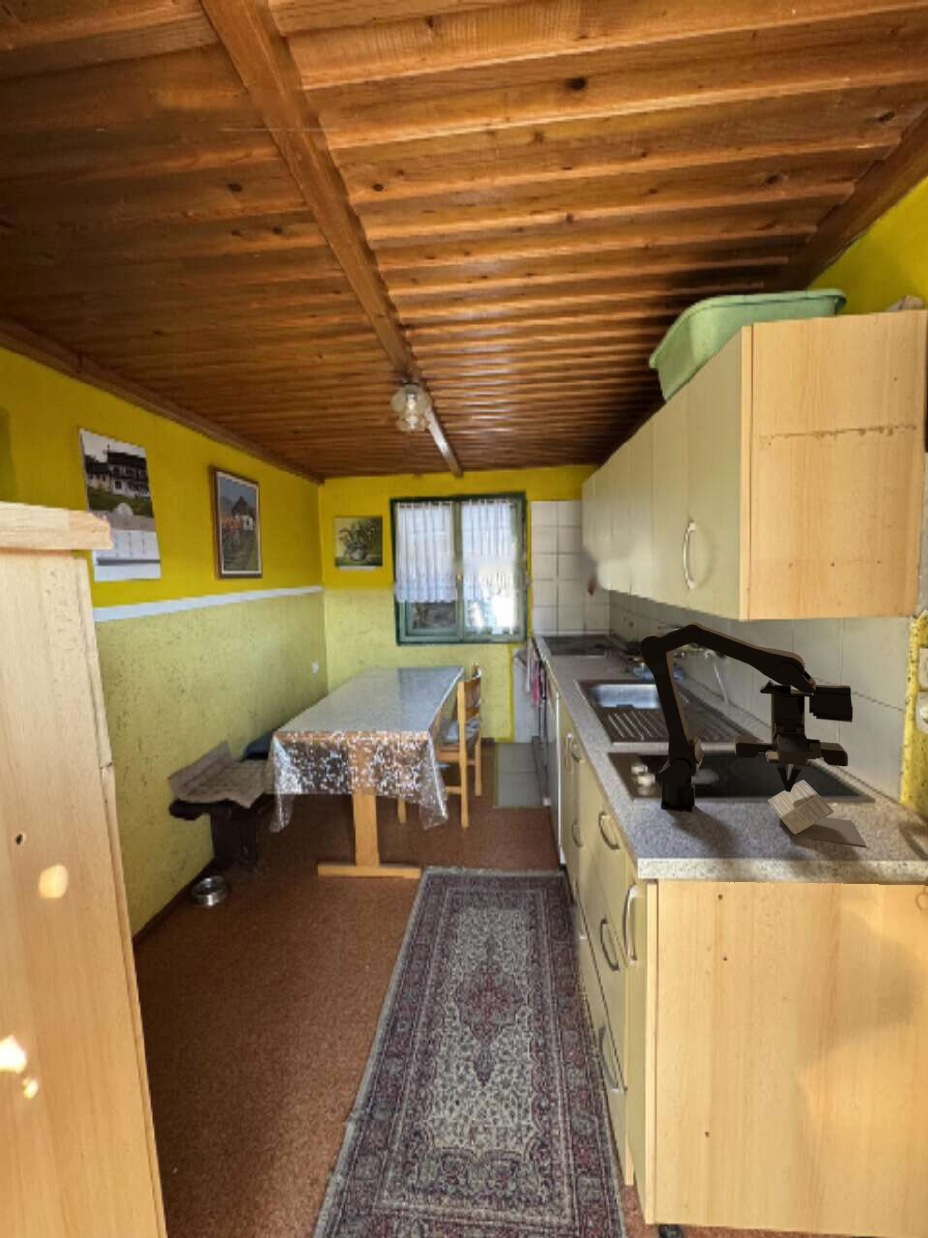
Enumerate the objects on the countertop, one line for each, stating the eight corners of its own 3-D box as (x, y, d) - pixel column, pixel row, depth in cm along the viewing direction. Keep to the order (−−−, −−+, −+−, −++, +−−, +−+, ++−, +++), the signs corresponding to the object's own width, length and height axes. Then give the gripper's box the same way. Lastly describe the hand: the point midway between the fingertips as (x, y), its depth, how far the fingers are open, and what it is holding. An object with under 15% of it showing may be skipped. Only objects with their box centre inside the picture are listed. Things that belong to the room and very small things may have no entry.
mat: (796, 836, 99) (796, 835, 99) (788, 813, 108) (788, 812, 108) (865, 847, 94) (865, 845, 94) (851, 822, 103) (851, 820, 103)
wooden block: (794, 836, 99) (835, 813, 97) (779, 817, 100) (820, 794, 97) (780, 816, 107) (818, 795, 105) (766, 799, 107) (803, 778, 105)
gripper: (737, 724, 97) (737, 802, 99) (856, 732, 89) (855, 816, 91) (733, 709, 107) (734, 779, 109) (841, 714, 99) (840, 791, 101)
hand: (787, 791), depth 102 cm, fingers closed
